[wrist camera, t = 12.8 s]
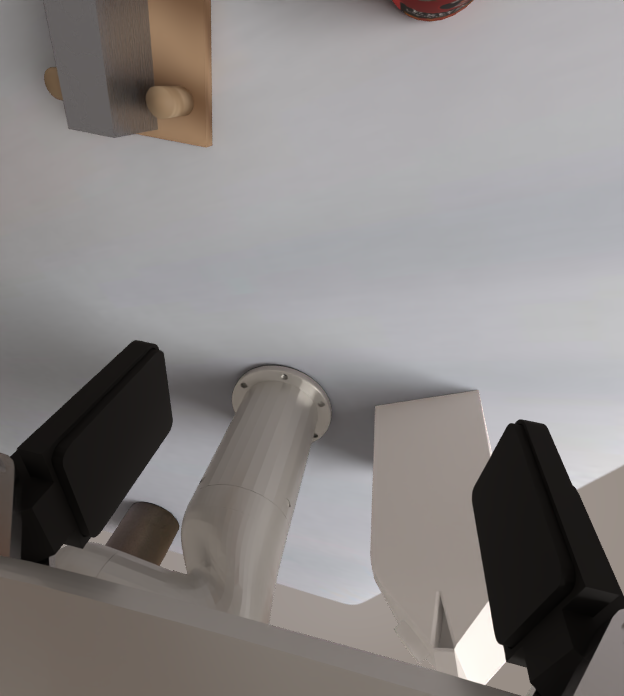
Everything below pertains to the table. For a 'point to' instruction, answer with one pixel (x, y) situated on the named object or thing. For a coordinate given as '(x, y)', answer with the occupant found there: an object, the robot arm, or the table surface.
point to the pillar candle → (145, 532)
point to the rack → (175, 71)
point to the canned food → (431, 8)
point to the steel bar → (103, 64)
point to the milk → (433, 531)
